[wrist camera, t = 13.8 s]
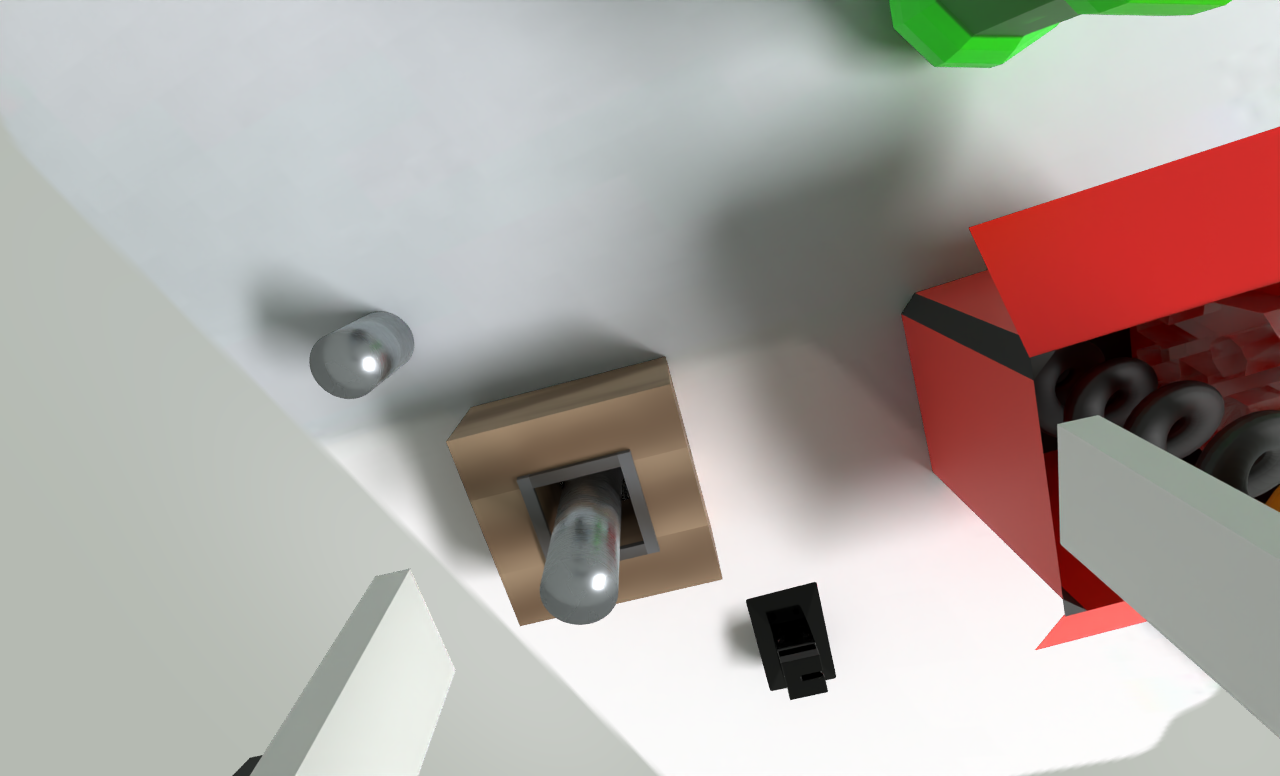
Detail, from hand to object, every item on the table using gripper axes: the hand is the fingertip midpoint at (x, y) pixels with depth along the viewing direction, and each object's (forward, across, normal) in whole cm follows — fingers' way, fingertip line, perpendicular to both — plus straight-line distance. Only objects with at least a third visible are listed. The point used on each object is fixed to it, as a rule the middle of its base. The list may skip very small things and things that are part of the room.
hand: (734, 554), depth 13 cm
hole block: (+30, -8, -12) cm, 33 cm away
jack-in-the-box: (+30, +23, -11) cm, 39 cm away
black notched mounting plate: (+30, +3, -30) cm, 43 cm away
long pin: (+30, -8, -12) cm, 33 cm away
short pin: (+30, -19, +1) cm, 35 cm away
